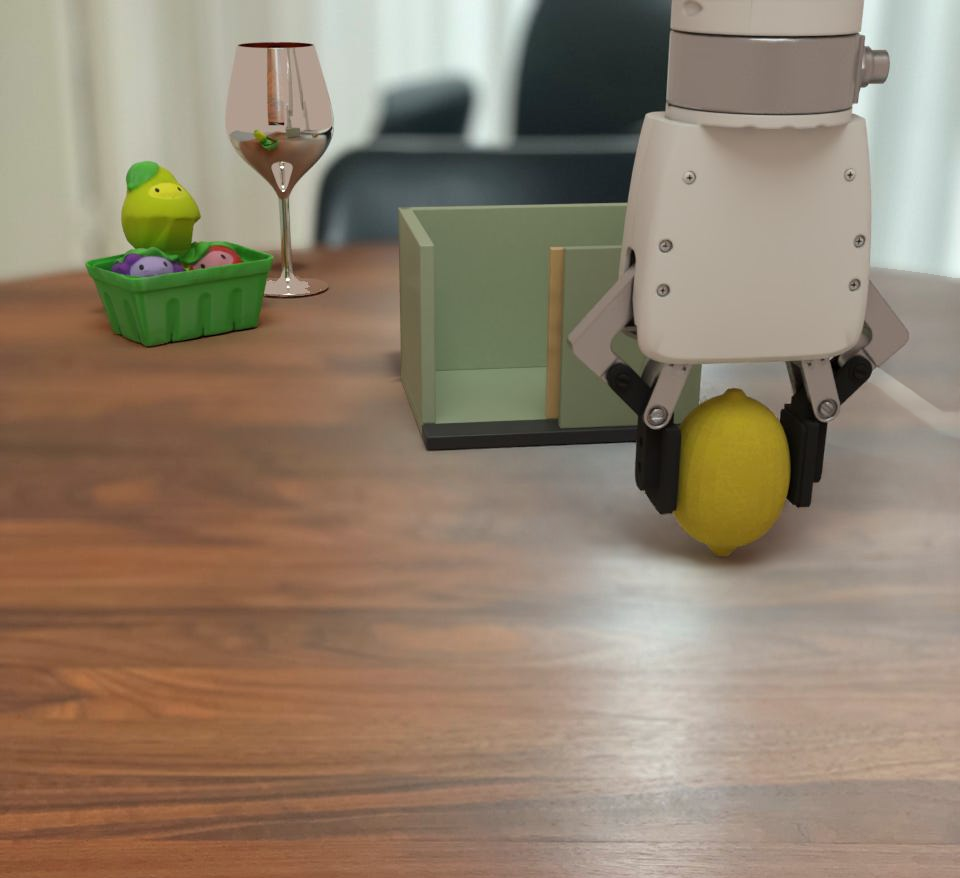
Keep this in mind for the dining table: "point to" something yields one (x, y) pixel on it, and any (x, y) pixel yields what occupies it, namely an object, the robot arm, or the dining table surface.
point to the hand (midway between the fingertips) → (726, 496)
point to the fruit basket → (175, 269)
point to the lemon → (731, 471)
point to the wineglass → (279, 126)
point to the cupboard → (510, 324)
